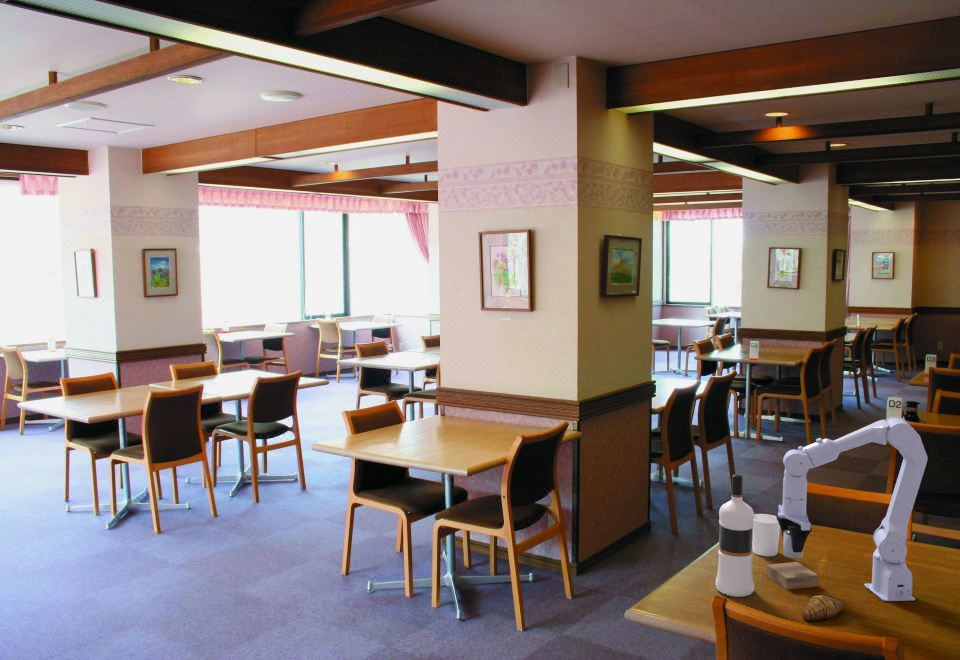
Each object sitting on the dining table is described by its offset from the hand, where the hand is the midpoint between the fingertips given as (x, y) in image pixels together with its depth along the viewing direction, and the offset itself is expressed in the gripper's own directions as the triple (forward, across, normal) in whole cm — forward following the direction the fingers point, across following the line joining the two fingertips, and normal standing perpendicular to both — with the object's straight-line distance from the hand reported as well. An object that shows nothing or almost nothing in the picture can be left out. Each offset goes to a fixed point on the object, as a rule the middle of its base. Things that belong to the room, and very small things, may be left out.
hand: (792, 548), depth 206 cm
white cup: (+9, -20, +1) cm, 22 cm away
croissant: (+9, +19, -1) cm, 21 cm away
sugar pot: (+2, 0, 0) cm, 2 cm away
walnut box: (+9, 0, 0) cm, 9 cm away
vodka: (+9, +5, -17) cm, 20 cm away
